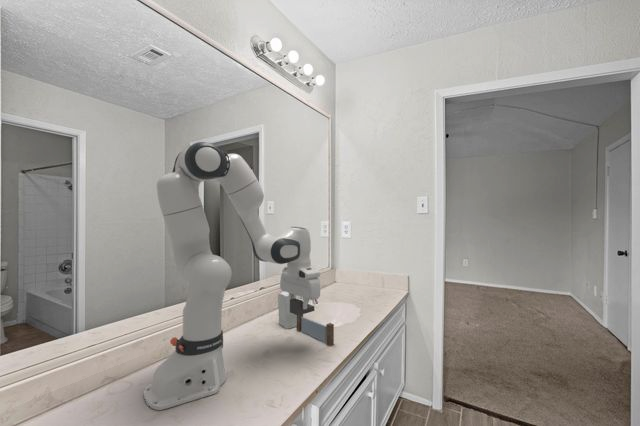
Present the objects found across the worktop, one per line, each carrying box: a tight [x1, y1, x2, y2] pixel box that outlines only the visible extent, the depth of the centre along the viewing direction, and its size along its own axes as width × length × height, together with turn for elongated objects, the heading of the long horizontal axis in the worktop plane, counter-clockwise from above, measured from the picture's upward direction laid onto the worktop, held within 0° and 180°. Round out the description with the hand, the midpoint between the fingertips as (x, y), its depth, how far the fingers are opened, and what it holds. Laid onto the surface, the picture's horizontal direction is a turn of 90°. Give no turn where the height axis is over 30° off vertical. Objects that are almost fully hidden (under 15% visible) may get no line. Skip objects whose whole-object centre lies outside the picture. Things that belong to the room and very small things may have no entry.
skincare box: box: [277, 291, 297, 330], centre depth 136 cm, size 8×6×15 cm
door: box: [301, 316, 326, 343], centre depth 123 cm, size 2×15×6 cm, turn 43°
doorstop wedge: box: [290, 298, 315, 315], centre depth 112 cm, size 8×5×5 cm, turn 132°
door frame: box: [296, 314, 335, 347], centre depth 122 cm, size 2×21×8 cm, turn 43°
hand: (298, 306), depth 111 cm, fingers closed on doorstop wedge, 5 cm apart
